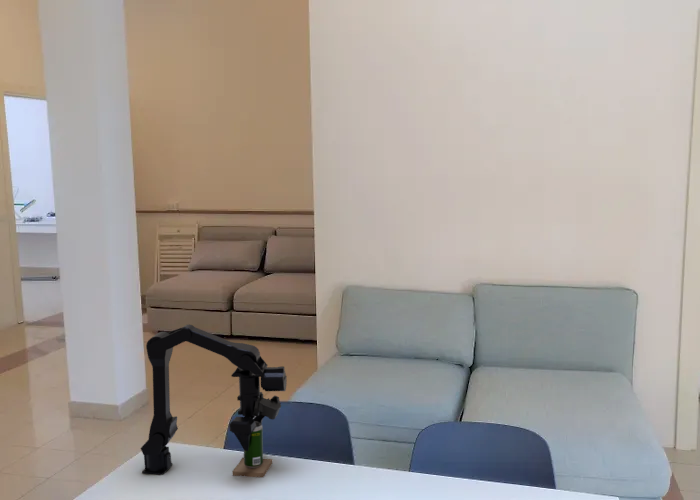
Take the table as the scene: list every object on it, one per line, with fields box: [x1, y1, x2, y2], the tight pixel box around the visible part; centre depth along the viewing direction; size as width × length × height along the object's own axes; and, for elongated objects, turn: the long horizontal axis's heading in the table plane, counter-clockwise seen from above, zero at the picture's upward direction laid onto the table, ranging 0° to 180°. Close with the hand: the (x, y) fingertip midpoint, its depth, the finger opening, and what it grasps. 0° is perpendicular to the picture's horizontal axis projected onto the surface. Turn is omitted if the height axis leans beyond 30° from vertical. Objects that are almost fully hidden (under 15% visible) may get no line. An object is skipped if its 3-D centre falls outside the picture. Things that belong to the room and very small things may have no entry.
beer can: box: [243, 421, 264, 469], centre depth 183 cm, size 5×5×12 cm
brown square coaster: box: [231, 457, 273, 478], centre depth 184 cm, size 9×9×2 cm
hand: (251, 444), depth 183 cm, fingers open, 9 cm apart
